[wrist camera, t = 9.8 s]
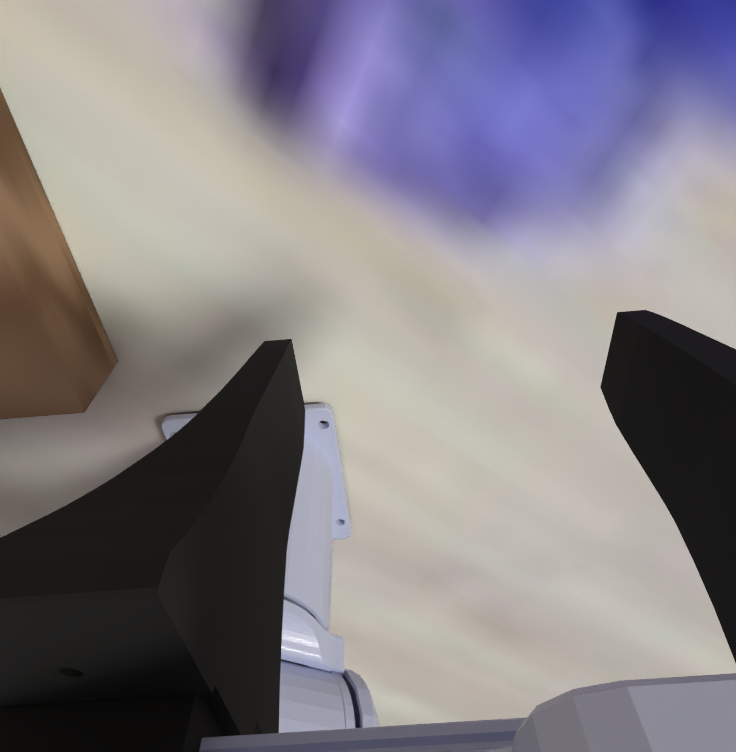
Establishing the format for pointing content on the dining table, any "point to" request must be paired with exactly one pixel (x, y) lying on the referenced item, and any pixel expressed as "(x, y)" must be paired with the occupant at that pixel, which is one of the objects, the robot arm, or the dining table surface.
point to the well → (41, 299)
